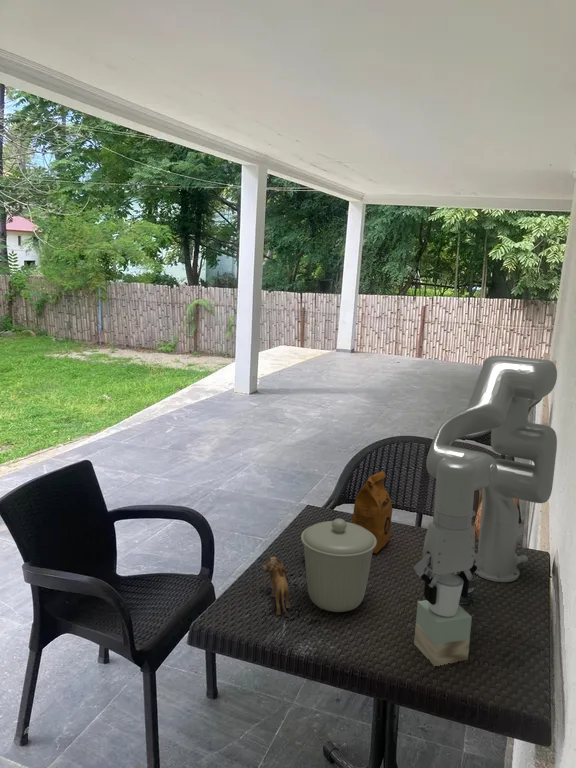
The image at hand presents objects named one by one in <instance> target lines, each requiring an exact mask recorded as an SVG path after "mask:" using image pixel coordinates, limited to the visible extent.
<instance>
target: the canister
mask: <svg viewBox="0 0 576 768" xmlns="http://www.w3.org/2000/svg"><path fill="white" fill-rule="evenodd" d="M300 539H301V542H302V544H303V551H304V553H303V554H304V564H305V566H304V567H305V576H306V577H305V578H306V584H307V585H306V586H307V593H308V596H309V599H310V600H311V601H312V603H313V604H314V605H315V606H317V607H318V608H319V609H321V610H324V611H327V612H332V613H345V612H349V611H352V610H355V609H357V608H358V607H359V606H360V605H361V603H362V602H363V600H364V598H365V594H366V589H367V585H368V580H369V574H370V569H371V563H372V558H373V554H374V553H373V549H374V548H375V546H376V544H377V540H376V538H375V536H374V535H373V534H372V533H371V532H370V531H368V530H366V529H365V528H363V527H361V526H359V525H356V524H353V522H348V521H346V520H344V519H343V518H335V519H334V520H327V521H322V522H318V523H315V524H312V525H310V526H308V527H306V528H305V529H304V530H303V531H302V533H300Z"/></svg>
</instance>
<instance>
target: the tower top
mask: <svg viewBox="0 0 576 768" xmlns="http://www.w3.org/2000/svg"><path fill="white" fill-rule="evenodd" d="M472 617H473V616H472V615H470V613H468V612H467V610H465V609H464V608H463V607H462V606H461V605H460V604H458V609H457V613H456V615H454V616H451V617H446V616H441V615H437V614H435V613H434V612H432V611H431V610H430V608H429V602H428V601H427V600H426V599H424V600H417V605H416V616H415V624H416V623H417V624H418V625H419V626H420V628H421V629H422V630H423V631H424V632H425V633H426V634H427V636H428V637H429V638H430V639H431V640H432V641H433V642H434V643H435V645H438V644H443V643H449V642H455V641H461V640H466V639H470V640H471V628H472V619H473V618H472Z"/></svg>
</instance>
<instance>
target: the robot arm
mask: <svg viewBox="0 0 576 768" xmlns="http://www.w3.org/2000/svg"><path fill="white" fill-rule="evenodd" d="M557 370H558V369H557V367H556V365H555V363H554V362H553V361H552V360H549V359H544V358H543V359H541V358H532V357H522V356H521V357H520V356H514V355H513V356H512V355H511V356H510V355H492V356H488V357H486V359H484V360H483V363H482V367H481V370H480V372H479V375H478V378H477V379H476V383H475V385H474V389H473V392H472V394H471V397H470V398H469V402H468V405H467V407H466V408H464V409H462V410H460V411H458V412H457V413H455V414H453V415H452V416H451V417H449V418H448V419H447V420H445V422H443V423H442V424H441V425H440V426H439V428H438V429H437V430H436V433H435V434H434V437H433V439H432V442H431V444H430V447H429V450H428V453H427V456H426V460H425V461H426V462H425V463H426V465H425V467H426V471H427V473H428V474H429V475H430V476H431V477H432V478H434V479H436V480H435V491H434V492H435V494H434V504H433V516H432V517H433V518H432V521H431V522H429V523H428V527H427V530H426V532H425V536H424V543H423V547H422V556H421V559H420V560H419V562H417V563H416V564H415V565H414V567H413V571H414V572H415V573H416V575H417V576H418V578H420V579H421V580H422V582H423V583H424V590H423V597H424V600H427V601H428V602H430V603H431V604H432V605H435V604H436V594H437V587H436V586H435V584H436V582H437V580H438V578H439V576H440V575H444V574H449V573H454V574H455V573H458V574H456V575H458V576H459V577H461V578H462V579H463V581H464V583H463V587H462V592H461V596H460V597H462V598H463V599H468V597H469V596H468V595H469V586H470V581H471V580H472V579H473V575H474V574H475V573H474V572H476V573H477V574H478V575H477V574H476V575H477V576H478V577H480V578H483V579H485V580H486V581H487V580H488V581H492V582H496V583H510V582H514V581H516V580H517V579H519V577H520V569H519V568H518V566H519V565H520V564H524V563H528V561H529V558H528V556H527V555H525V554H524V555H519V556H518V553H516V551H517V550H516V548H517V539H518V531H519V529H518V528H519V521H520V520H519V519H520V512H519V508H518V505H517V503H516V502H515V500H520V501H525V502H529V503H535V504H545V503H546V502H548V501H549V500H550V498H551V495H552V491H553V486H554V478H555V477H554V476H555V467H556V458H557V450H558V449H557V446H558V437H557V434H556V433H557V432H556V431H555V429H554V428H553V427H551V426H549V425H546V424H542V423H541V424H540V423H534V422H530V421H529V408H530V401H529V400H535V401H536V400H541V399H544V397H546V396H548V395H549V394H550V393H552V391H553V390H554V388H555V387H556V383H557V380H558V371H557ZM490 430H491V433H490V434H491V435H490V446H491V449H492V450H493V451H494V452H495V453H497V454H499V455H501V456H506V457H512V458H517V459H522V460H528V461H532V463H533V464H530V463H525V462H524V463H523V462H521V461H516V460H515V461H514V460H511V459H505V458H494V457H493V456H492V455H490V454H488V453H485V452H482V451H477V450H472V449H471V450H470V449H467V448H461V447H458V446H457V447H456V446H451V445H452V444H453V443H454V442H455V441H456V440H459V439H460V438H463V437H465V436H469V435H472V434H473V435H474V434H478V433H482V432H486V431H490ZM478 490H481V491H482V494H481V495H482V498H481V500H482V501H481V503H482V504H481V513H480V524H479V525H480V526H479V534H478V547H477V552H476V551H475V549H476V547H475V546H476V542H475V541H476V540H475V531H474V530H475V529H474V524H473V523H472V522H473V517H475V516H476V511H475V510H474V499H475V498H474V497H475V491H478ZM514 499H515V500H514ZM425 569H426V570H425ZM432 573H433V576H432V578H431V579H430V576H431V574H432Z"/></svg>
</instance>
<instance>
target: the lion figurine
mask: <svg viewBox="0 0 576 768" xmlns="http://www.w3.org/2000/svg"><path fill="white" fill-rule="evenodd" d="M262 569H263V570H264V571H265V573H268V574H269V577H270V580H271V590H272V591H271V592H272V593H270V594H269V596H270V598H275V605H276V611H275V615H276V616H280V615H281V614H282V613H281V605H282V610H283V612H284V613H285V616H286V617H287V618H290V613H289V612H288V611H287V609H291V604H290V588H289V584H288V581H287V569H286V568H285V566H284V564H283V562H282V560H280V559H279V557H276V556H271V557H270V558H269V560H268V561H267V562H266V563H265V564H263V565H262ZM280 599H281V605H280Z"/></svg>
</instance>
